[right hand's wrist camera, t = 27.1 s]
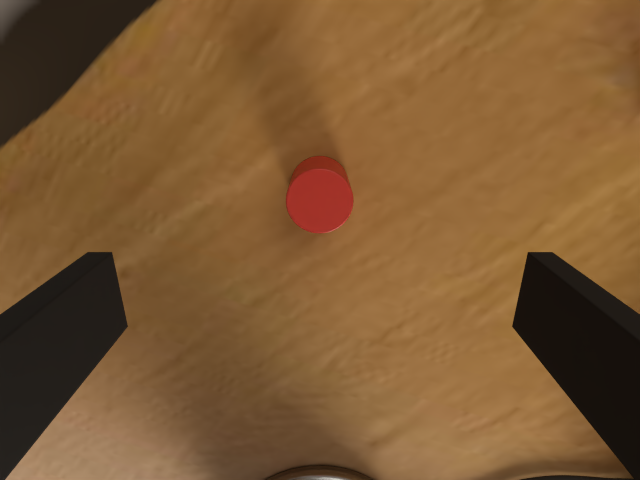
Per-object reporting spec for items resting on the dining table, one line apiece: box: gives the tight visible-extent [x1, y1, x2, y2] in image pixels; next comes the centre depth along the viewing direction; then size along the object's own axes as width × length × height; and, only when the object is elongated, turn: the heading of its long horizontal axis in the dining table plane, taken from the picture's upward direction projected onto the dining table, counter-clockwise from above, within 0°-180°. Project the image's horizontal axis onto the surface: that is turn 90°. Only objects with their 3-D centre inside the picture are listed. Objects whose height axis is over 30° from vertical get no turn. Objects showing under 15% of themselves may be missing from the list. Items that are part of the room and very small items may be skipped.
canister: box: [286, 156, 353, 233], centre depth 24 cm, size 4×4×4 cm
